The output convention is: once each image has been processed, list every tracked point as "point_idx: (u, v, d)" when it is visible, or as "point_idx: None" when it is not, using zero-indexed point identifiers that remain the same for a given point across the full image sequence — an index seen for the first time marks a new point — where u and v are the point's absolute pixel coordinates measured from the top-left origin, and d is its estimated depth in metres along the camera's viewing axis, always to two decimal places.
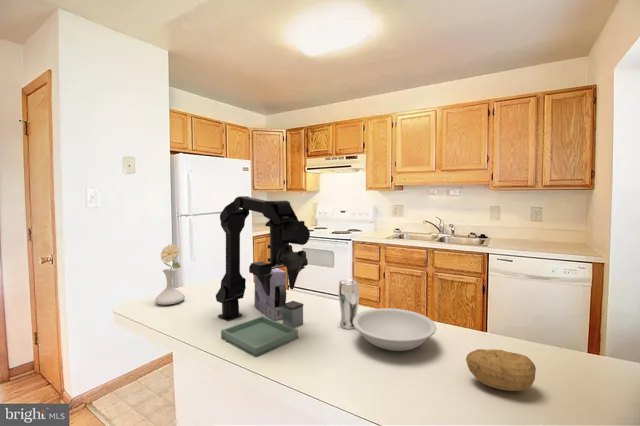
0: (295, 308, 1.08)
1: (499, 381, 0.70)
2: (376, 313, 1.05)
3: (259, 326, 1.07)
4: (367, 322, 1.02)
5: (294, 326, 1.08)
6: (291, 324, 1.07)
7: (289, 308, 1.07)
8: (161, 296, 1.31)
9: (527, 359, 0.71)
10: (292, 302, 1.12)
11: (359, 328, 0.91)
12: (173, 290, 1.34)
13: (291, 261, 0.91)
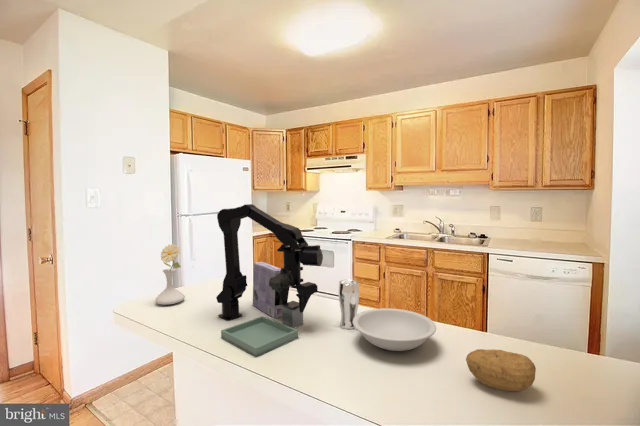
0: (295, 308, 1.08)
1: (499, 381, 0.70)
2: (376, 313, 1.05)
3: (259, 326, 1.07)
4: (367, 322, 1.02)
5: (294, 326, 1.08)
6: (291, 324, 1.07)
7: (289, 308, 1.07)
8: (161, 296, 1.31)
9: (527, 359, 0.71)
10: (292, 302, 1.12)
11: (359, 328, 0.91)
12: (173, 290, 1.34)
13: None
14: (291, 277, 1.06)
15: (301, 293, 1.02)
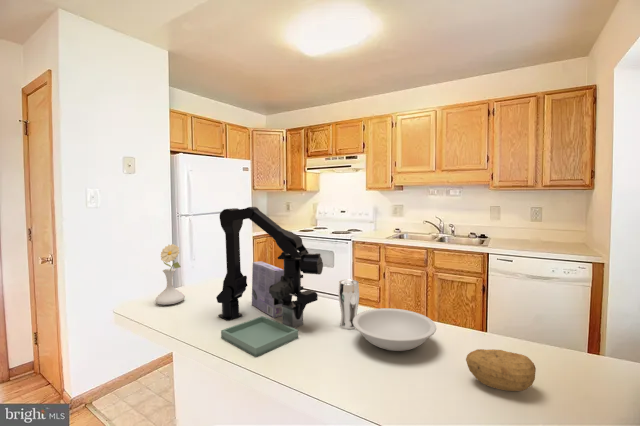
0: (295, 308, 1.08)
1: (499, 381, 0.70)
2: (376, 313, 1.05)
3: (259, 326, 1.07)
4: (367, 322, 1.02)
5: (294, 326, 1.08)
6: (291, 324, 1.07)
7: (289, 308, 1.07)
8: (161, 296, 1.31)
9: (527, 359, 0.71)
10: (292, 302, 1.12)
11: (359, 328, 0.91)
12: (173, 290, 1.34)
13: None
14: (291, 285, 1.06)
15: (301, 301, 1.03)
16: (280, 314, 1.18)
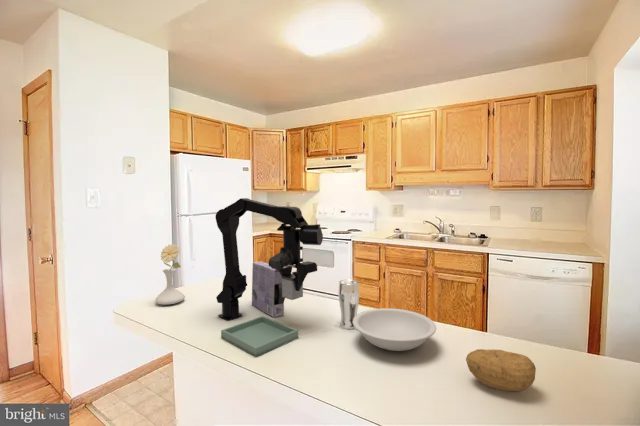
0: None
1: (499, 381, 0.70)
2: (376, 313, 1.05)
3: (259, 326, 1.07)
4: (367, 322, 1.02)
5: (294, 297, 1.07)
6: (291, 295, 1.07)
7: (289, 279, 1.07)
8: (161, 296, 1.31)
9: (527, 359, 0.71)
10: (292, 274, 1.11)
11: (359, 328, 0.91)
12: (173, 290, 1.34)
13: None
14: (291, 256, 1.05)
15: (301, 271, 1.02)
16: (280, 314, 1.18)
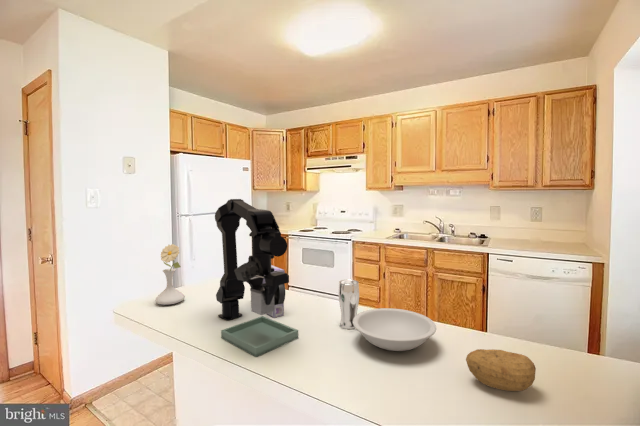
0: (264, 292, 0.96)
1: (499, 381, 0.70)
2: (376, 313, 1.05)
3: (259, 326, 1.07)
4: (367, 322, 1.02)
5: (263, 312, 0.96)
6: (260, 310, 0.95)
7: (258, 292, 0.95)
8: (161, 296, 1.31)
9: (527, 359, 0.71)
10: (262, 286, 1.00)
11: (359, 328, 0.91)
12: (173, 290, 1.34)
13: None
14: (259, 266, 0.94)
15: (269, 283, 0.91)
16: (280, 314, 1.18)
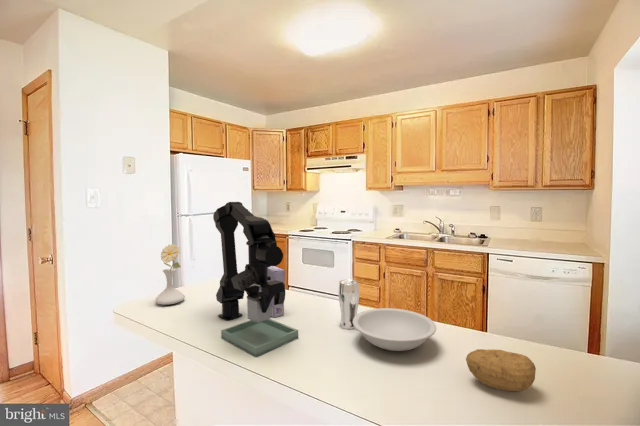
0: None
1: (499, 381, 0.70)
2: (376, 313, 1.05)
3: (259, 326, 1.07)
4: (367, 322, 1.02)
5: (260, 320, 0.97)
6: (256, 318, 0.97)
7: (254, 300, 0.97)
8: (161, 296, 1.31)
9: (527, 359, 0.71)
10: None
11: (359, 328, 0.91)
12: (173, 290, 1.34)
13: None
14: (256, 274, 0.95)
15: (265, 292, 0.92)
16: (280, 314, 1.18)
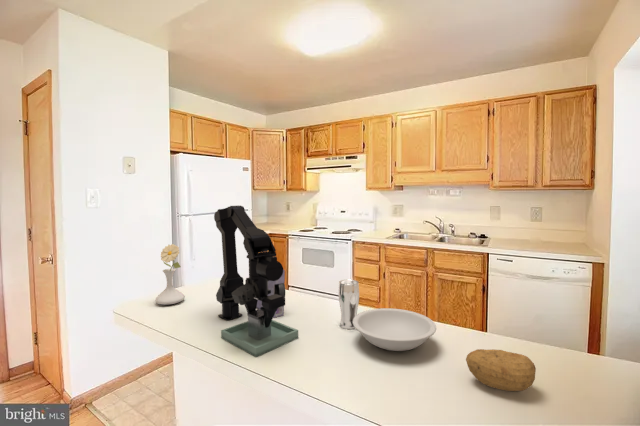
0: (261, 317, 0.97)
1: (499, 381, 0.70)
2: (376, 313, 1.05)
3: None
4: (367, 322, 1.02)
5: (260, 337, 0.97)
6: (257, 335, 0.97)
7: (254, 317, 0.97)
8: (161, 296, 1.31)
9: (527, 359, 0.71)
10: (259, 310, 1.01)
11: (359, 328, 0.91)
12: (173, 290, 1.34)
13: None
14: (256, 289, 0.95)
15: (266, 307, 0.92)
16: (280, 314, 1.18)
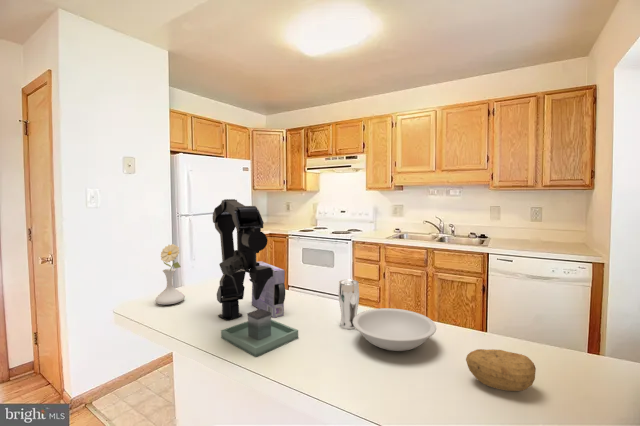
0: (261, 317, 0.97)
1: (499, 381, 0.70)
2: (376, 313, 1.05)
3: None
4: (367, 322, 1.02)
5: (260, 337, 0.97)
6: (257, 335, 0.97)
7: (254, 317, 0.97)
8: (161, 296, 1.31)
9: (527, 359, 0.71)
10: (259, 310, 1.01)
11: (359, 328, 0.91)
12: (173, 290, 1.34)
13: None
14: (244, 260, 0.96)
15: (253, 277, 0.92)
16: (280, 314, 1.18)
